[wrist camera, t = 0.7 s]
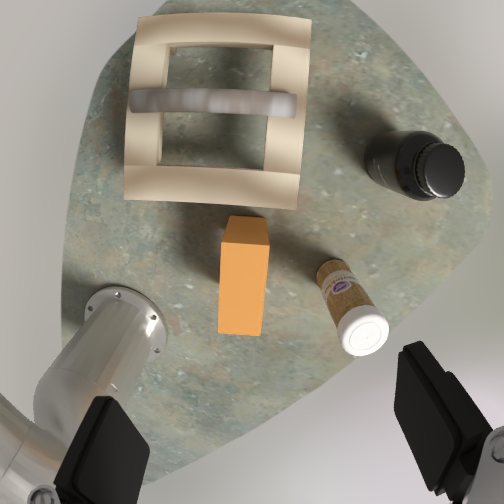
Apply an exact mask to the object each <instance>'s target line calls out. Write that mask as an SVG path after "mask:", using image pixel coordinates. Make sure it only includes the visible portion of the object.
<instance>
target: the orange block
mask: <svg viewBox="0 0 504 504" xmlns="http://www.w3.org/2000/svg"><path fill="white" fill-rule="evenodd" d="M269 248H270V244H269V238H268V231H267V225H266V219H265V218H260V217H246V216H233V215H230V217H229V220H228V223H227V226H226V230H225V233H224V236H223V239H222V242H221V263H220V288H219V316H218V333H226V334H238V335H253V336H260V333H261V324H262V315H263V306H264V296H265V287H266V278H267V268H268V258H269Z"/></svg>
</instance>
